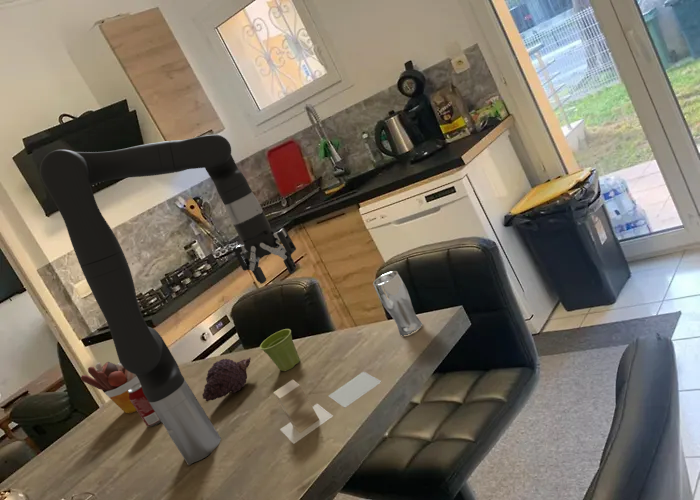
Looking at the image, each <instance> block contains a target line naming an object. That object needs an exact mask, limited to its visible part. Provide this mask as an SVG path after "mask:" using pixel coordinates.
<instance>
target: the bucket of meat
mask: <svg viewBox="0 0 700 500" xmlns="http://www.w3.org/2000/svg"><path fill="white" fill-rule="evenodd" d="M87 372H88V374H89V375H90V376H89V375H87V374H83V375H81V376H80V379H81V381H82V382H84V383H86V384H87V385H90V386H91V387H94V388H95V389H97V390H101V391H102V392H103V393H104V394H105V395H106V397H108V398H109V399H110V400H112V402H113V403H115V405H116V406H118V408H120V410H122V411H123V413H126V414H133V413H136V412H137V410H136V408H135V407H134V405H133V404H132V402H131V401H130V399H129V393H128V390H129V389H130V388H131V387H132V386H134V385H135V384H137V383H139V382H140V381H139V379H138V377H137V376H136V374H133V373H131V372H129V371H127V370H126V369H125V368H124V367H123V366H122V365H121V363H120V361H119V362H118V363H117V364H115V363H112V362H110V361H107V362H105V363H104V364H103V365H102V363H101V362H97V363H96V364H95V367H94V366H90V367H88V368H87ZM137 413H138V412H137Z"/></svg>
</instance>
